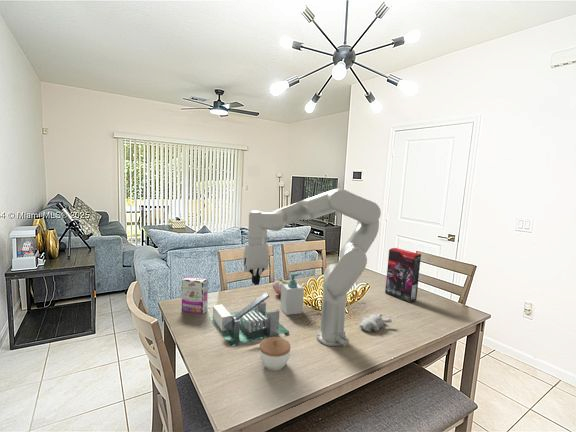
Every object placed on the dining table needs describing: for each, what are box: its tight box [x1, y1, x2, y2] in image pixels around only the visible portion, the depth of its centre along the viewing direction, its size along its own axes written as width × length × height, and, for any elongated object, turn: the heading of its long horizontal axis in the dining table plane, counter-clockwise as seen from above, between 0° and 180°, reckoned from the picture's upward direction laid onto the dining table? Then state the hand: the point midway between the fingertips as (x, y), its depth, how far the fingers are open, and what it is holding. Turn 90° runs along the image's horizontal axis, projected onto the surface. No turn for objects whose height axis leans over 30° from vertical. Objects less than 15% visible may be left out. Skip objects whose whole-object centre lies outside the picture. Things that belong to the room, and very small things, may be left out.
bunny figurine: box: [359, 312, 393, 333], centre depth 138 cm, size 10×5×15 cm
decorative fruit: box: [272, 277, 289, 296], centre depth 169 cm, size 9×8×10 cm
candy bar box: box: [181, 276, 209, 315], centre depth 143 cm, size 11×5×16 cm, turn 76°
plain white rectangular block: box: [212, 304, 231, 331], centre depth 132 cm, size 12×4×6 cm, turn 31°
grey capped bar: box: [222, 292, 270, 330], centre depth 125 cm, size 4×22×2 cm, turn 121°
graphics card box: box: [384, 247, 422, 303], centre depth 174 cm, size 17×7×27 cm, turn 37°
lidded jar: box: [259, 336, 291, 372], centre depth 106 cm, size 11×11×9 cm
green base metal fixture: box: [209, 298, 290, 348], centre depth 132 cm, size 27×26×11 cm
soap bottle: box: [279, 272, 305, 316], centre depth 150 cm, size 9×9×19 cm
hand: (255, 283), depth 126 cm, fingers closed
